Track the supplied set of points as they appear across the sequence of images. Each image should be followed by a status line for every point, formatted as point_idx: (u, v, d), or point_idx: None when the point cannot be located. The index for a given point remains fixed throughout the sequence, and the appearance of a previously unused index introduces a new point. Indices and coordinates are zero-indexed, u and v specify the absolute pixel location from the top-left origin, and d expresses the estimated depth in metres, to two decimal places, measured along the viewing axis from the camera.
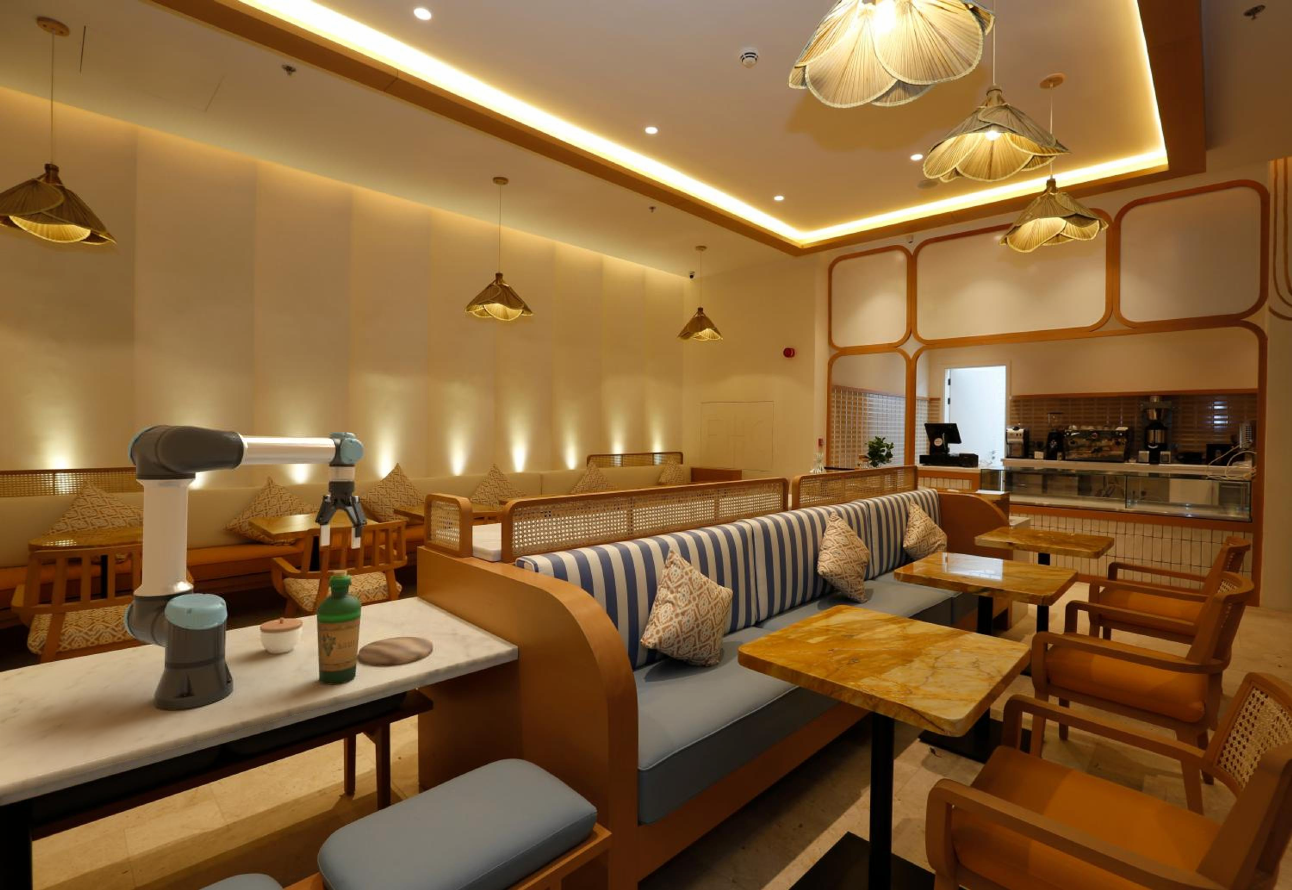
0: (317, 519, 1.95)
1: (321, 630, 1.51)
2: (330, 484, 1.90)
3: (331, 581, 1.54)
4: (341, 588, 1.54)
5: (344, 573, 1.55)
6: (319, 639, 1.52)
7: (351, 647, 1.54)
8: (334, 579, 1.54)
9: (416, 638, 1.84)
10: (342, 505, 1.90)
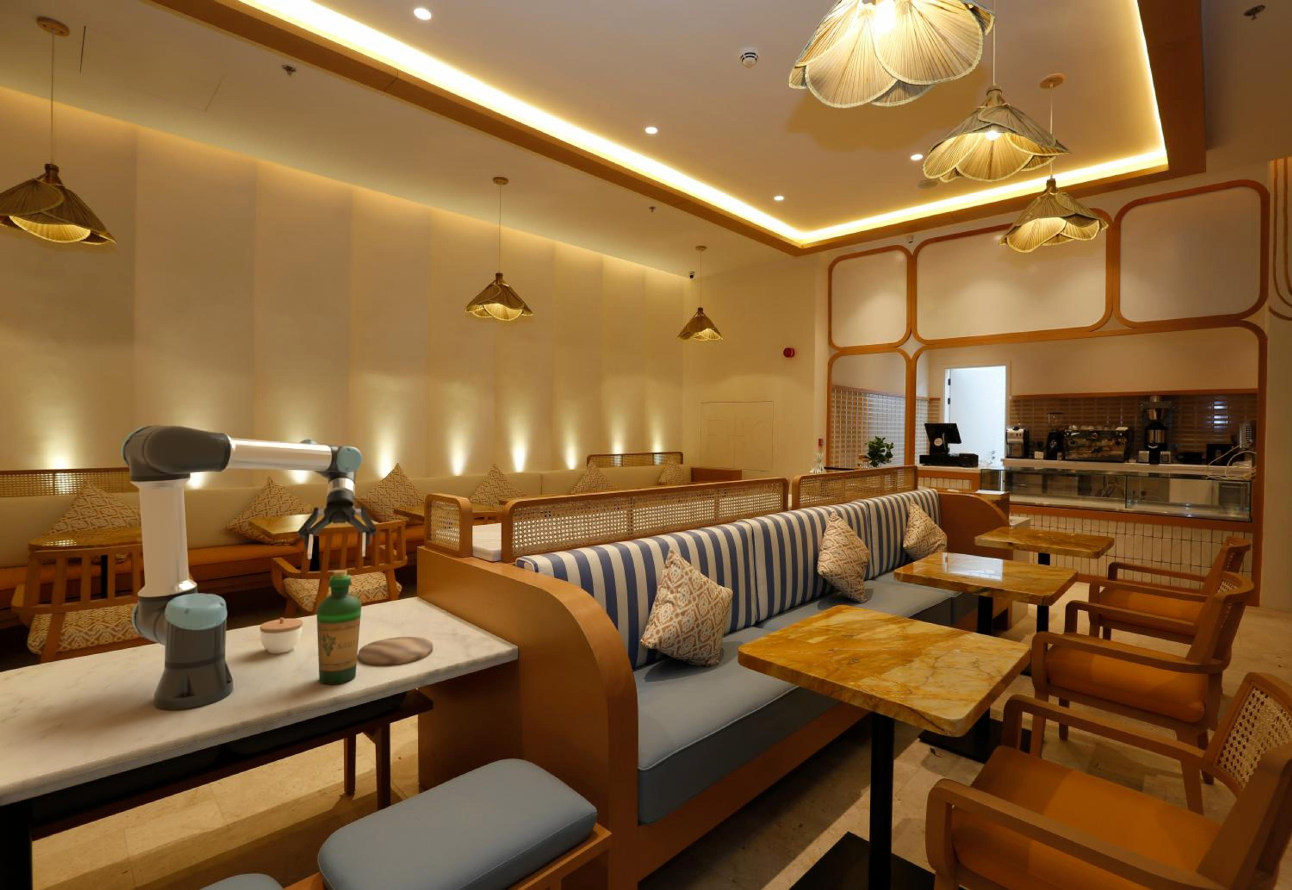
0: (302, 529, 1.70)
1: (321, 630, 1.51)
2: (338, 492, 1.79)
3: (331, 581, 1.54)
4: (341, 588, 1.54)
5: (344, 573, 1.55)
6: (319, 639, 1.52)
7: (351, 647, 1.54)
8: (334, 579, 1.54)
9: (416, 638, 1.84)
10: (349, 513, 1.77)
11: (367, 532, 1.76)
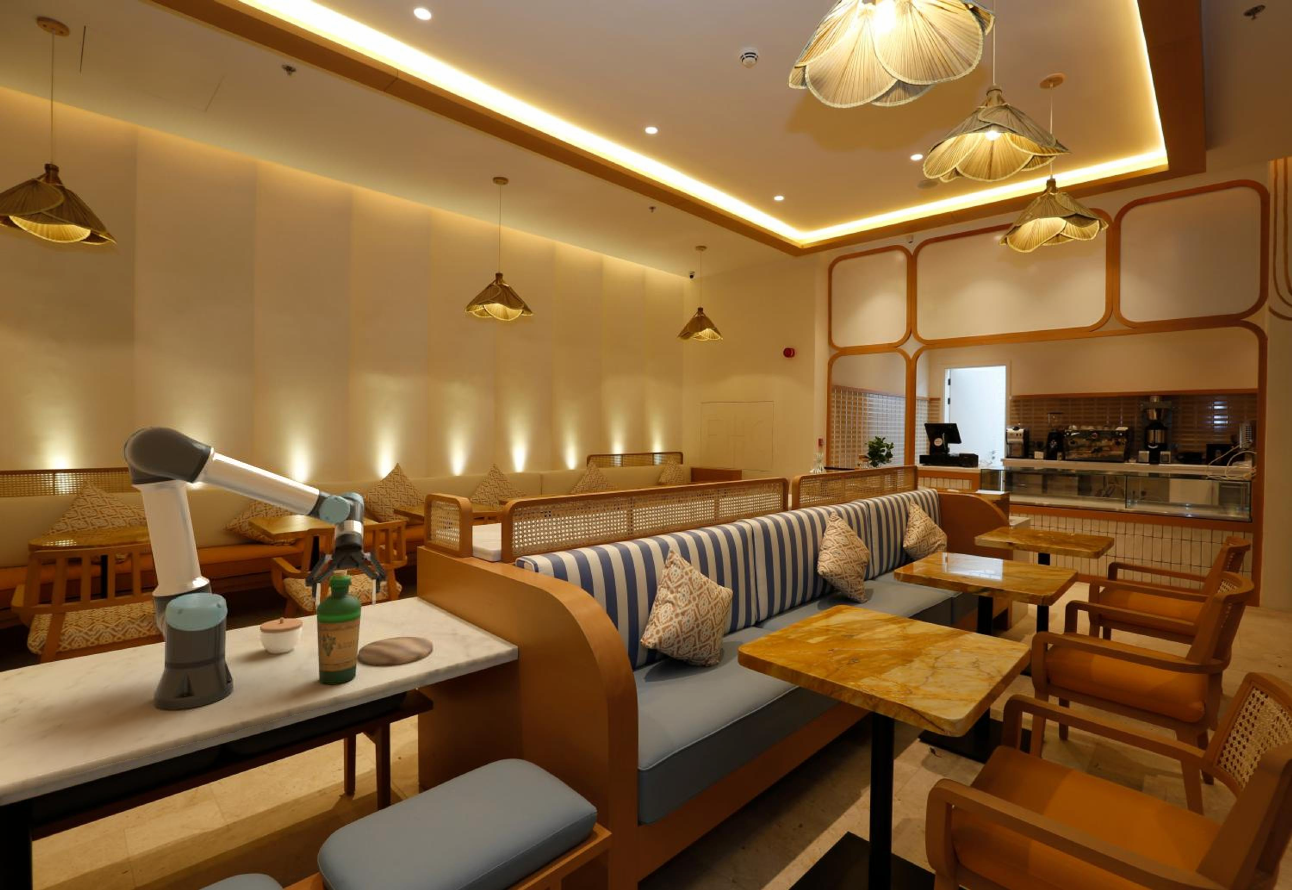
0: (309, 578, 1.61)
1: (321, 630, 1.51)
2: (346, 536, 1.71)
3: (331, 581, 1.54)
4: (341, 588, 1.54)
5: (344, 573, 1.55)
6: (319, 639, 1.52)
7: (351, 647, 1.54)
8: (334, 579, 1.54)
9: (416, 638, 1.84)
10: (358, 559, 1.69)
11: (377, 579, 1.67)
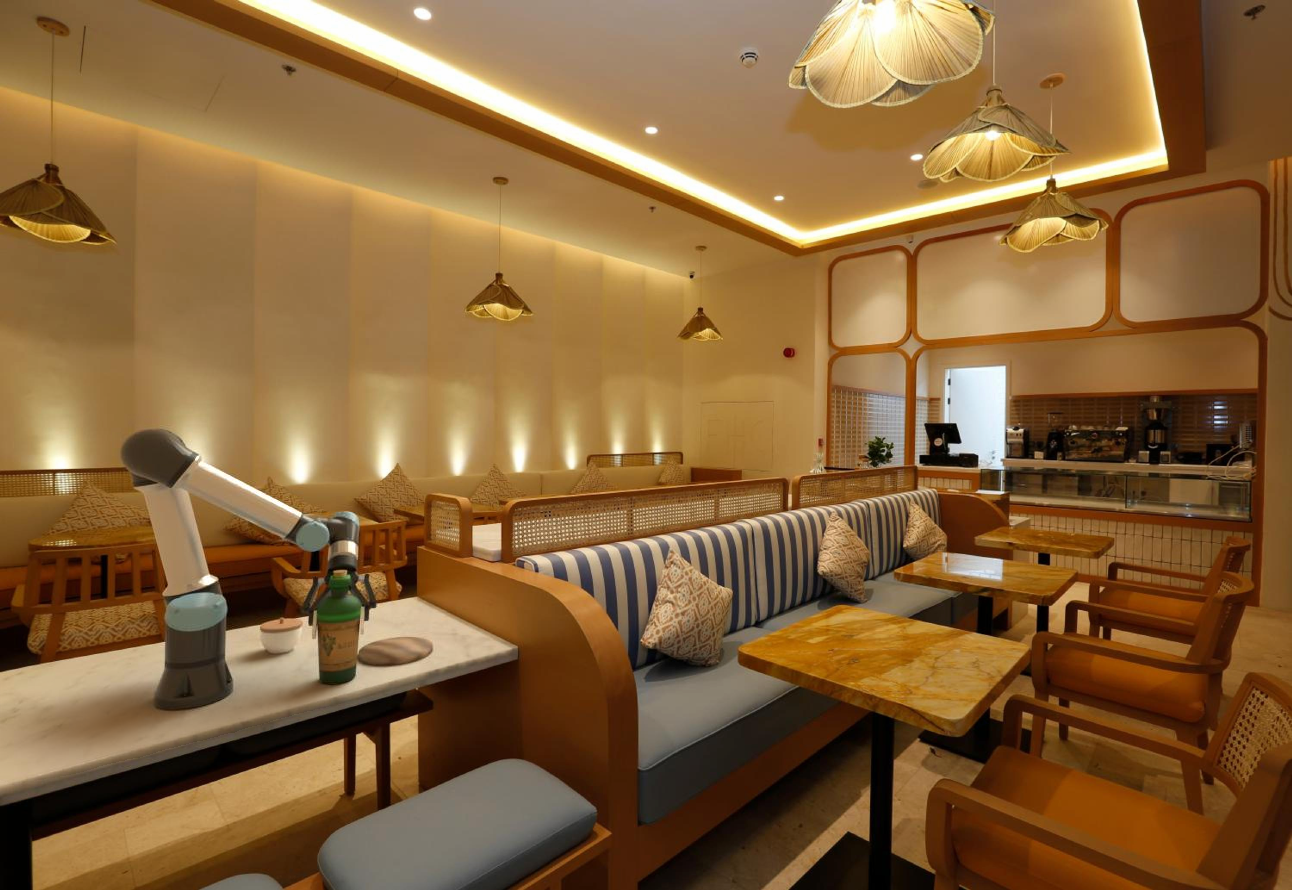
0: (306, 604, 1.55)
1: (321, 630, 1.51)
2: (340, 557, 1.64)
3: (331, 581, 1.54)
4: (341, 588, 1.54)
5: (344, 573, 1.55)
6: (319, 639, 1.52)
7: (351, 647, 1.54)
8: (334, 579, 1.54)
9: (416, 638, 1.84)
10: (351, 581, 1.62)
11: (366, 606, 1.59)
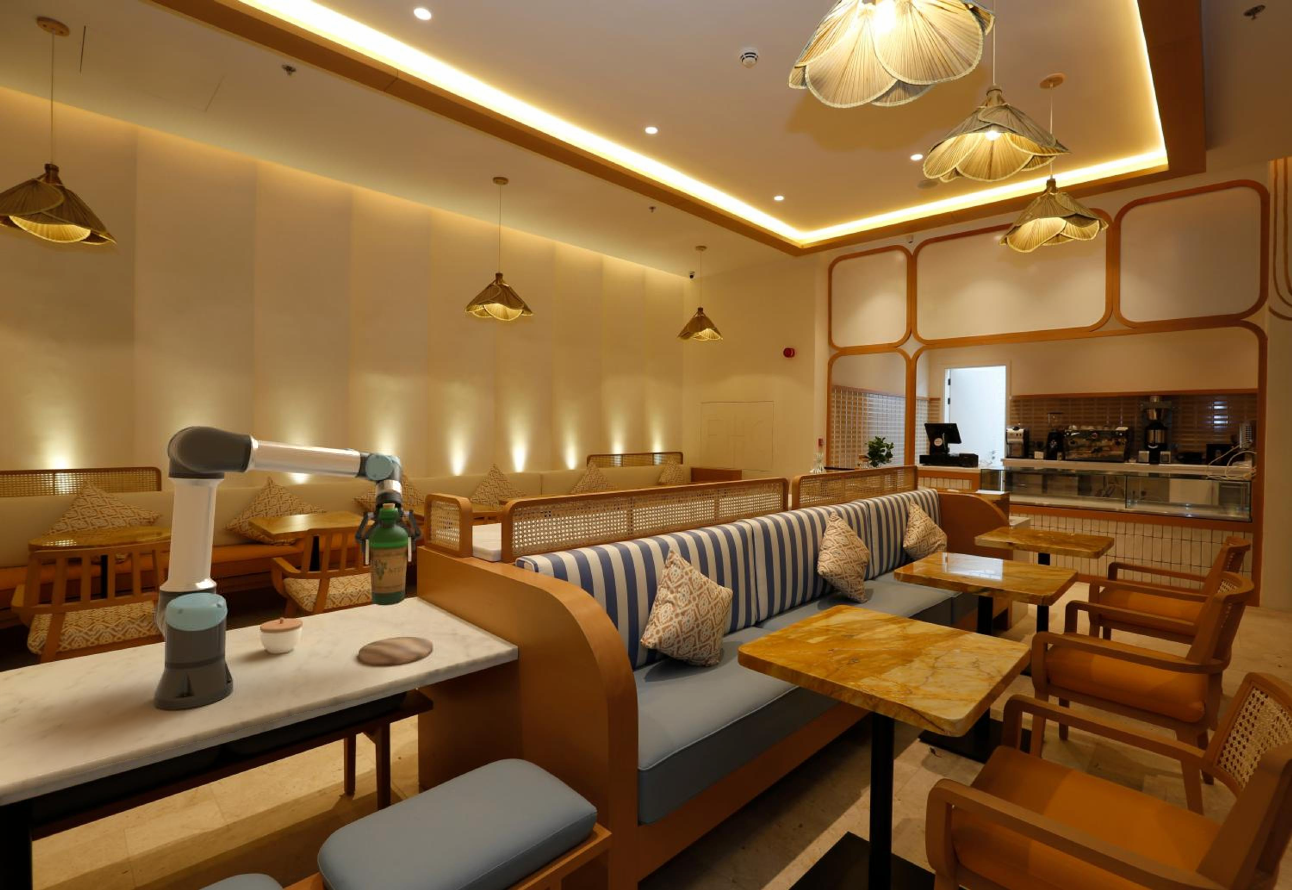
0: (358, 534, 1.70)
1: (374, 556, 1.66)
2: (386, 494, 1.79)
3: (381, 512, 1.69)
4: (390, 519, 1.69)
5: (392, 505, 1.70)
6: (371, 564, 1.67)
7: (400, 572, 1.69)
8: (384, 510, 1.68)
9: (416, 638, 1.84)
10: None
11: (412, 537, 1.74)
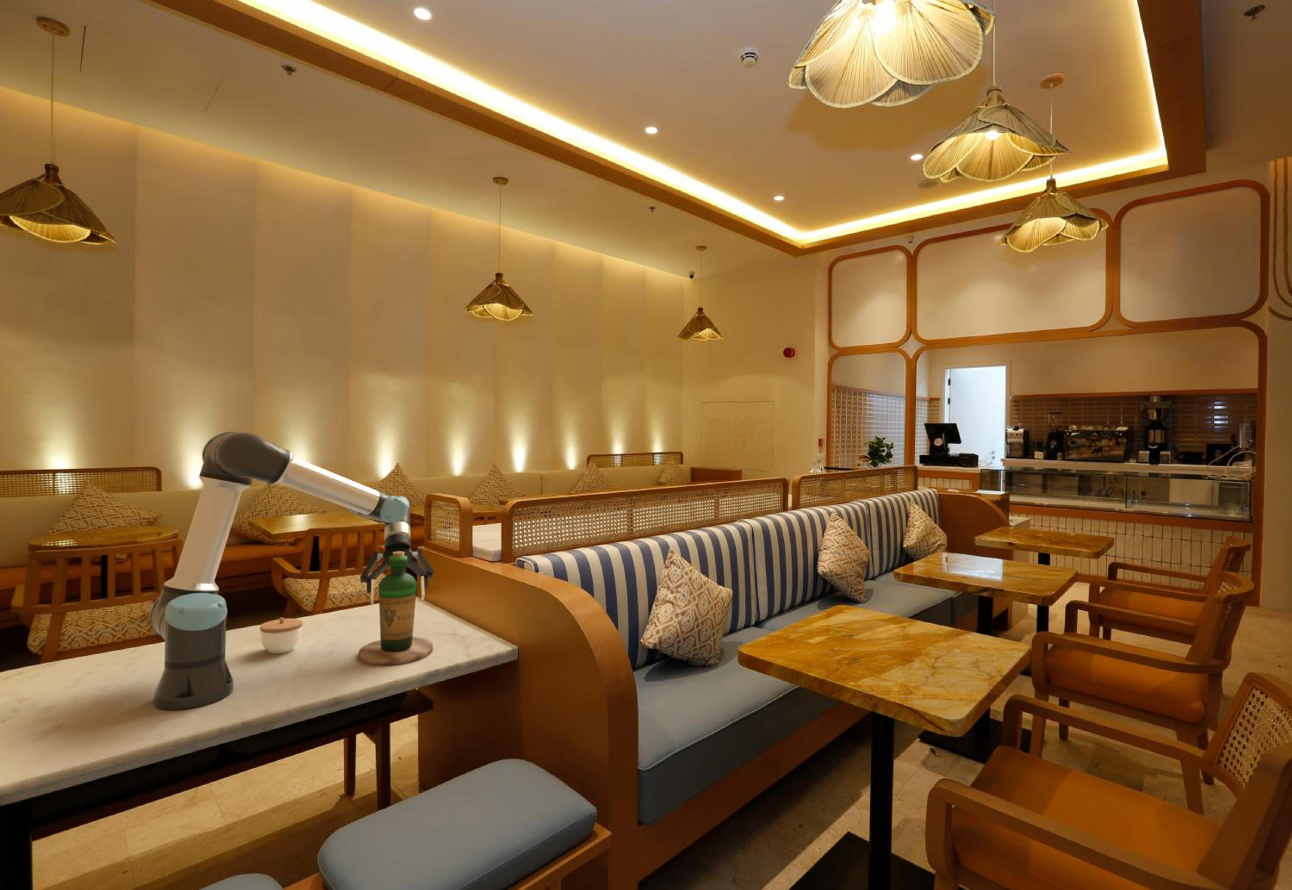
0: (364, 574, 1.75)
1: (383, 603, 1.71)
2: (396, 535, 1.84)
3: (391, 560, 1.74)
4: (400, 567, 1.74)
5: (402, 554, 1.75)
6: (381, 612, 1.72)
7: (409, 619, 1.74)
8: (394, 559, 1.73)
9: (416, 638, 1.84)
10: (407, 557, 1.82)
11: (425, 576, 1.80)
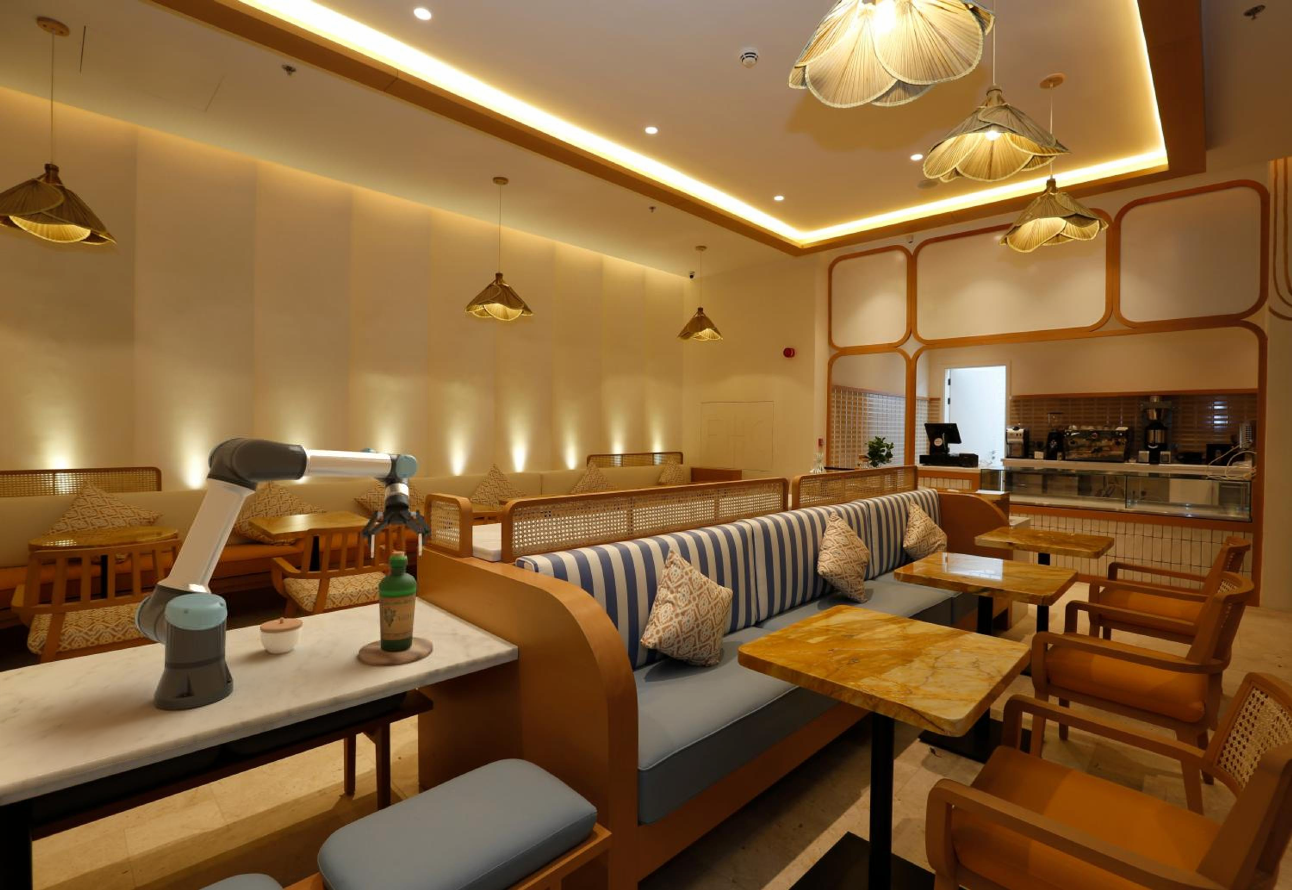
0: (365, 530, 1.85)
1: (383, 603, 1.71)
2: (395, 496, 1.94)
3: (391, 560, 1.74)
4: (399, 567, 1.74)
5: (402, 554, 1.75)
6: (381, 612, 1.72)
7: (409, 619, 1.74)
8: (394, 559, 1.74)
9: (416, 638, 1.84)
10: (405, 516, 1.93)
11: (423, 533, 1.91)
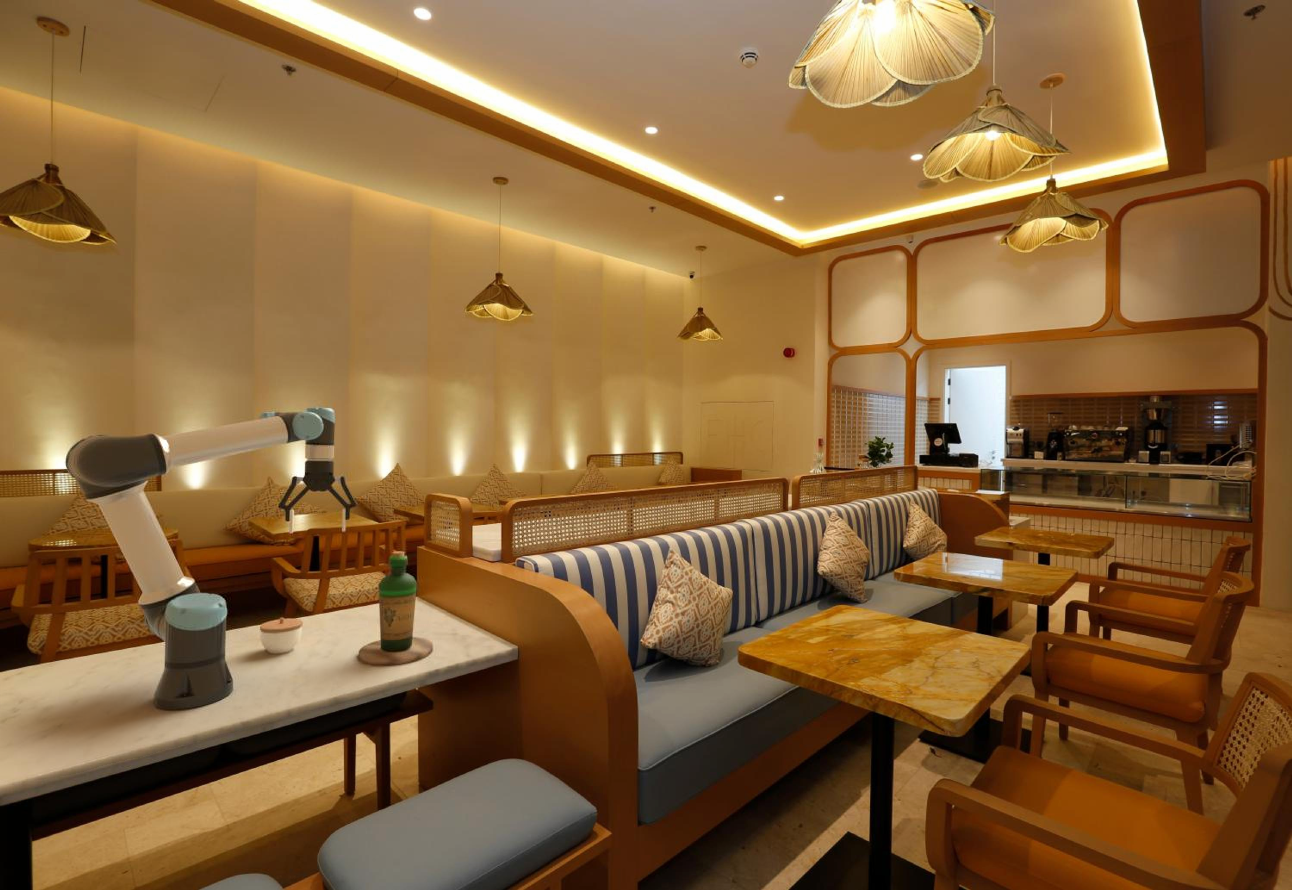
0: (282, 504, 1.72)
1: (383, 603, 1.71)
2: (316, 464, 1.74)
3: (391, 560, 1.74)
4: (399, 567, 1.74)
5: (402, 554, 1.75)
6: (381, 612, 1.72)
7: (409, 619, 1.74)
8: (394, 559, 1.74)
9: (416, 638, 1.84)
10: (328, 486, 1.77)
11: (347, 509, 1.79)
